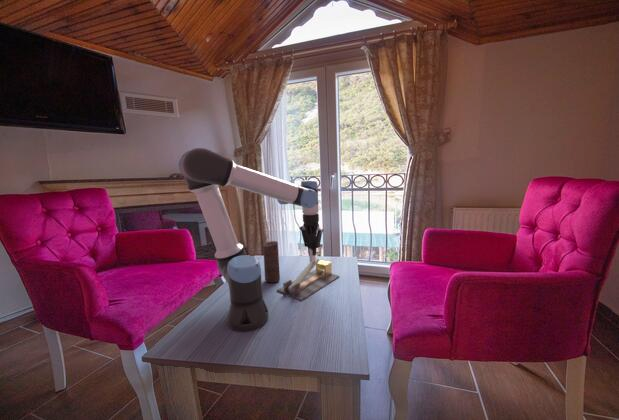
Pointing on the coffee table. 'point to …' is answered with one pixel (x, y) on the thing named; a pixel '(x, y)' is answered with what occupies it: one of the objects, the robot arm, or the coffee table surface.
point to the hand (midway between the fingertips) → (312, 261)
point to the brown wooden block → (271, 261)
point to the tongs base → (307, 285)
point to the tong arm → (303, 274)
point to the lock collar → (325, 266)
